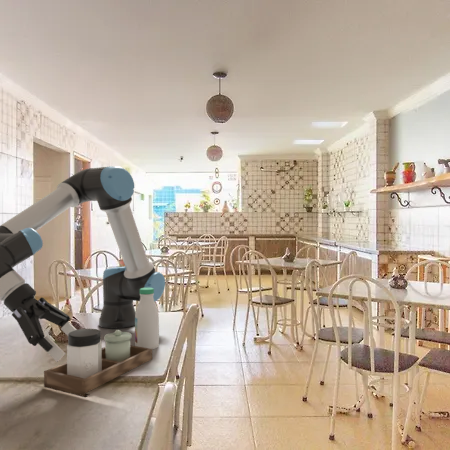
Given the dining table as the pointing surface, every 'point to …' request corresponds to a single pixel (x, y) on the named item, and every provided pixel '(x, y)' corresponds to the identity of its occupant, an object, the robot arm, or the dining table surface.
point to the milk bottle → (147, 321)
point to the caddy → (110, 370)
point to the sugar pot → (117, 346)
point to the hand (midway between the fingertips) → (72, 349)
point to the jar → (84, 353)
